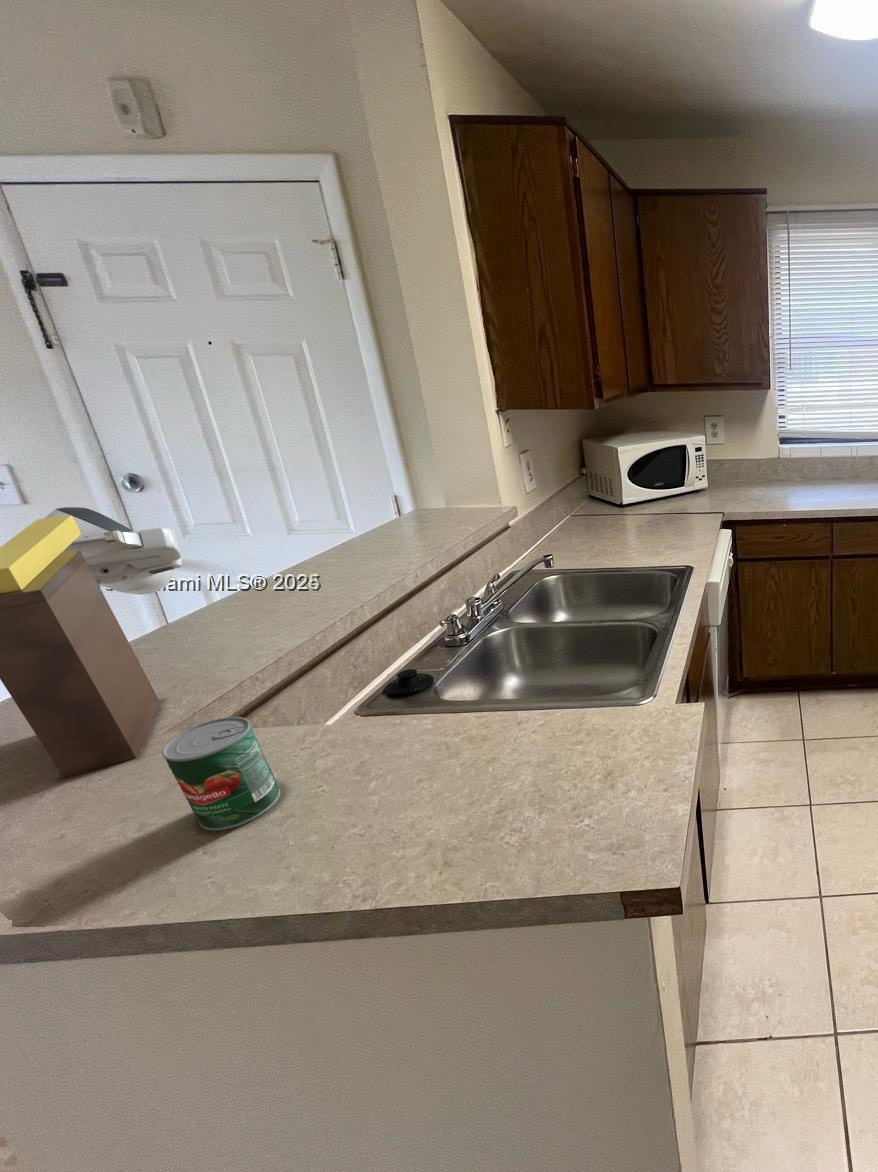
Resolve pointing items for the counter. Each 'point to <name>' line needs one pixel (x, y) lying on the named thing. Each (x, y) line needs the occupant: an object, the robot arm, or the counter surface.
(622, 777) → the counter surface
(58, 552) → the yellow bar
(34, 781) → the counter surface
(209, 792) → the canned tomato
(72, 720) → the walnut stand
